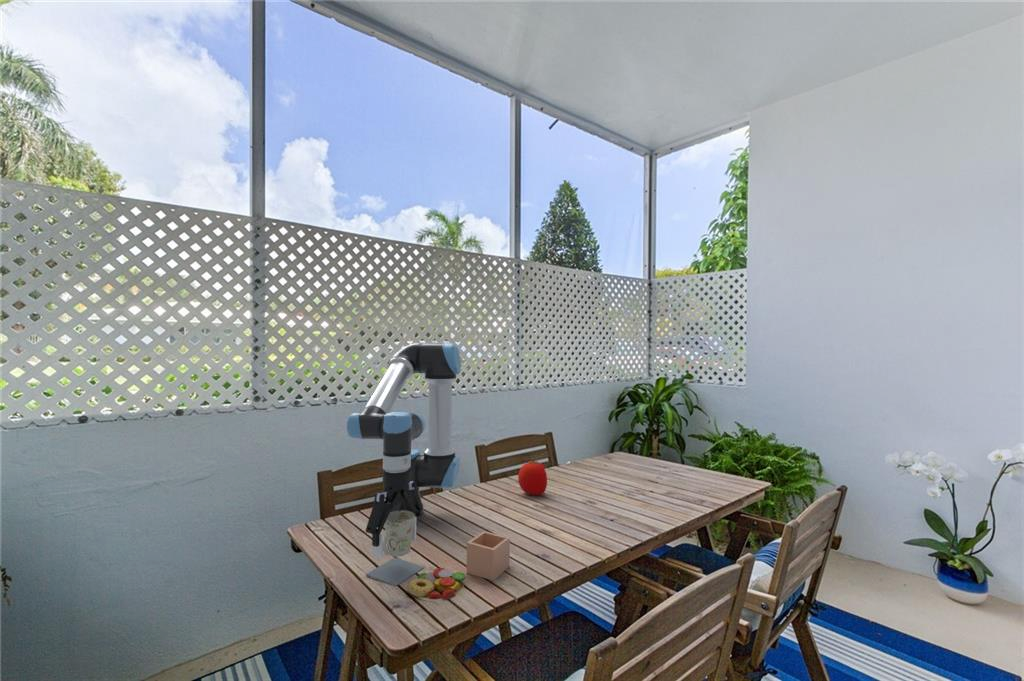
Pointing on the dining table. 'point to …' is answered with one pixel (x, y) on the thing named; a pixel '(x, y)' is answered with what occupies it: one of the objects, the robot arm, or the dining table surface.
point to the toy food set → (437, 585)
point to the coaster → (395, 571)
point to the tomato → (533, 478)
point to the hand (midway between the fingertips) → (395, 547)
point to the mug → (398, 533)
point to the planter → (488, 555)
